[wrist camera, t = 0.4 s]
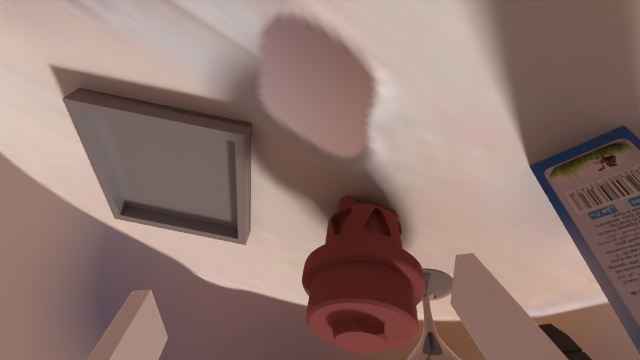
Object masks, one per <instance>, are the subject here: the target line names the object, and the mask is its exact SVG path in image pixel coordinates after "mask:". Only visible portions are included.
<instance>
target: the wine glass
mask: <svg viewBox="0 0 640 360" xmlns="http://www.w3.org/2000/svg"><path fill="white" fill-rule="evenodd" d="M423 273H424V280H425V294H424V297H423V298H422V300H421V301H423V309H424V332H423V335H422V338H421V340H420V342H419V344H418V346H417V347H416V348H415V349H414V351H413V352H412V353H411V354H410V356H409V357H408V358H407V359H406V360H460V359H459V358H458V357H457V356H456V355H455V354H454V353H453V352H452V351H451V350H450V349H449V348H448V347H447V346H446V345H445V344H444V343H443V342H442V340H441V339H440V337H439V336H438V334H437V332H436V329H435V326H434V322H433V318H432V314H431V309H430V302H429V301H433V300H438V299H442V298H444V297H446V296H448V295H450V294H451V293H452V286H453V279H452V278H451V277H450V276H449V275H447V274H445V273H443V272H440V271H437V270H431V269H423Z"/></svg>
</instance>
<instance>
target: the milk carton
mask: <svg viewBox="0 0 640 360" xmlns="http://www.w3.org/2000/svg"><path fill="white" fill-rule="evenodd" d="M530 168H531V170H532V172H533V173H534V175H535V177H536V178H537V180H538V182H539V184H540V185H541V187H542V189H543V190H544V192H545V194H546V195H547V197H548V199H549V201H550V202H551V204H552V206H553V207H554V209H555V211H556V212H557V214H558V216H559V218H560V219H561V221H562V223H563V224H564V226H565V228H566V229H567V231H568V233H569V235H570V236H571V238H572V240H573V241H574V243H575V245H576V246H577V248H578V250H579V251H580V253H581V255H582V257H583V258H584V260H585V262H586V263H587V265H588V267H589V268H590V270H591V272H592V274H593V275H594V277H595V279H596V280H597V282H598V284H599V285H600V287H601V289H602V291H603V292H604V294H605V296H606V297H607V299H608V301H609V302H610V304H611V306H612V307H613V309H614V311H615V313H616V314H617V316H618V318H619V319H620V321H621V323H622V324H623V326H624V328H625V330H626V331H627V333H628V335H629V336H630V338H631V340H632V342H633V343H634V345H635V347H636V348H637V350H638V352H639V353H640V140H639V139H638V138H637V137H636V136H635V135H634V134H633V133H632V132H630V131H629V130H628V129H627V128H626V127H625V126H622V127H619V128H617V129H615V130H612V131H610V132H608V133H606V134H603V135H601V136H599V137H596V138H594V139H592V140H589V141H587V142H585V143H582V144H580V145H578V146H576V147H573V148H571V149H569V150H566V151H564V152H562V153H559V154H557V155H555V156H553V157H550V158H548V159H546V160H543V161H541V162H539V163H536V164H534V165H532V166H530Z"/></svg>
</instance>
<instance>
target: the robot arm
mask: <svg viewBox="0 0 640 360" xmlns="http://www.w3.org/2000/svg"><path fill="white" fill-rule="evenodd" d="M451 305H452V307H453V308H454V310H455V311H456V313H457V315H458V316H459V318H460V319H461V321H462V322H463V324H464V326H465V327H466V329H467V330H468V332H469V334H470V335H471V337H472V338H473V340H474V341H475V343H476V345H477V346H478V348H479V349H480V351H481V353H482V354H483V356H484V357H485V359H486V360H592V359H590V357H589V356H587V354H586V353H585V352H582V349H581V348H580V347H579V346H578V345H577V344H576V343H575V342H574V341H573V340H572V339H571V338H570V337H569V336H568V335H567V334H565V333H564V332H562V331H561V330H559V329H558V328H556V327H555V326H553V325H552V324H544V325H537V324H536V323H535V322H534V321H533V319H532V318H531V317H530V316H529V315H528V314H527V313H526V312H525V311H524V309H523V308H522V307H521V306H520V305H519V304H518V303H517V302H516V301H515V299H514V298H513V297H512V296H511V295H510V294H509V293H508V292H507V291H506V289H505V288H504V287H503V286H502V285H501V284H500V283H499V282H498V281H497V279H496V278H495V277H494V276H493V275H492V274H491V273H490V272H489V270H488V269H487V268H486V267H485V266H484V265H483V264H482V263H481V262H480V260H479V259H478V258H477V257H476V256H475V255H474V254H473V253H469V254H461V255H456V259H455V268H454V277H453V286H452V295H451ZM167 338H168V337H167V334H166V331H165V328H164V326H163V323H162V320H161V317H160V314H159V312H158V309H157V306H156V303H155V300H154V298H153V294H152V292H151V290H143V291H133V292H132V293H131V294H130V296H129V297H128V299H127V300H126V302H125V303H124V305H123V306H122V308H121V309H120V311H119V312H118V314H117V315H116V317H115V318H114V320H113V321H112V323H111V324H110V326H109V327H108V329H107V330H106V332H105V333H104V335H103V336H102V338H101V339H100V341H99V342H98V344H97V345H96V347H95V348H94V350H93V351H92V353H91V354H90V356H89V357H88V359H87V360H158V359H159V357H160V354H161V352H162V350H163V347H164V345H165V343H166V340H167Z"/></svg>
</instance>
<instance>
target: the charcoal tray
mask: <svg viewBox="0 0 640 360" xmlns="http://www.w3.org/2000/svg"><path fill="white" fill-rule="evenodd" d="M63 101H64V103H65V105H66V107H67V110H68V112H69V114H70V117H71V119H72V121H73V124H74V126H75V128H76V130H77V133H78V135H79V137H80V140H81V142H82V144H83V147H84V149H85V151H86V153H87V156H88V158H89V160H90V163H91V165H92V167H93V170H94V172H95V174H96V176H97V179H98V181H99V183H100V186H101V188H102V190H103V193H104V195H105V197H106V199H107V202H108V204H109V206H110V209H111V211H112V213H113V216H114V218H115V219H120V220H125V221H130V222H135V223H139V224H144V225H149V226H154V227H159V228H164V229H169V230H174V231H179V232H184V233H189V234H194V235H199V236H204V237H209V238H214V239H219V240H224V241H229V242H234V243H239V244H244V245H246V242H247V240H248V237H249V234H250V209H251V124H250V123H245V122H240V121H235V120H231V119H226V118H221V117H216V116H211V115H206V114H201V113H196V112H191V111H186V110H182V109H177V108H172V107H167V106H162V105H157V104H152V103H147V102H142V101H138V100H133V99H128V98H123V97H118V96H113V95H108V94H103V93H98V92H94V91H89V90H84V89H79V88H78V89H77V90H75V91H74V92H72V93H70V94H69V95H67V96H66V97H64V98H63Z"/></svg>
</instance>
